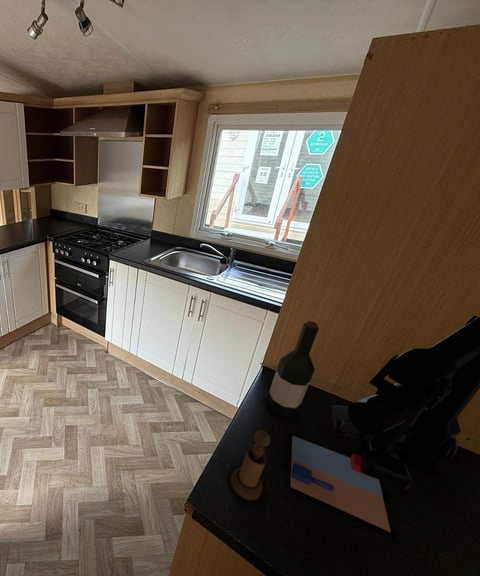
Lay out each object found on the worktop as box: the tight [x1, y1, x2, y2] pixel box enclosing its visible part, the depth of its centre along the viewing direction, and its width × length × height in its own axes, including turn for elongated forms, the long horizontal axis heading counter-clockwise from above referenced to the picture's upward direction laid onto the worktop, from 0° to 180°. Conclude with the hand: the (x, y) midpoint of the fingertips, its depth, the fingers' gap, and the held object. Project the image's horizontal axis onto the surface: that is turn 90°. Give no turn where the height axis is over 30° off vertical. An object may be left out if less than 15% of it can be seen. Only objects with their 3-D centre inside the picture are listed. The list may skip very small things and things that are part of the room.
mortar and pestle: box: [230, 429, 272, 501], centre depth 69 cm, size 7×6×18 cm
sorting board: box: [290, 435, 392, 533], centre depth 74 cm, size 18×16×1 cm
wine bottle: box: [265, 320, 320, 418], centre depth 87 cm, size 8×8×30 cm
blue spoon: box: [292, 463, 334, 491], centre depth 73 cm, size 8×3×2 cm, turn 59°
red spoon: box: [349, 453, 373, 478], centre depth 65 cm, size 8×3×2 cm, turn 59°
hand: (362, 466), depth 66 cm, fingers closed on red spoon, 3 cm apart
